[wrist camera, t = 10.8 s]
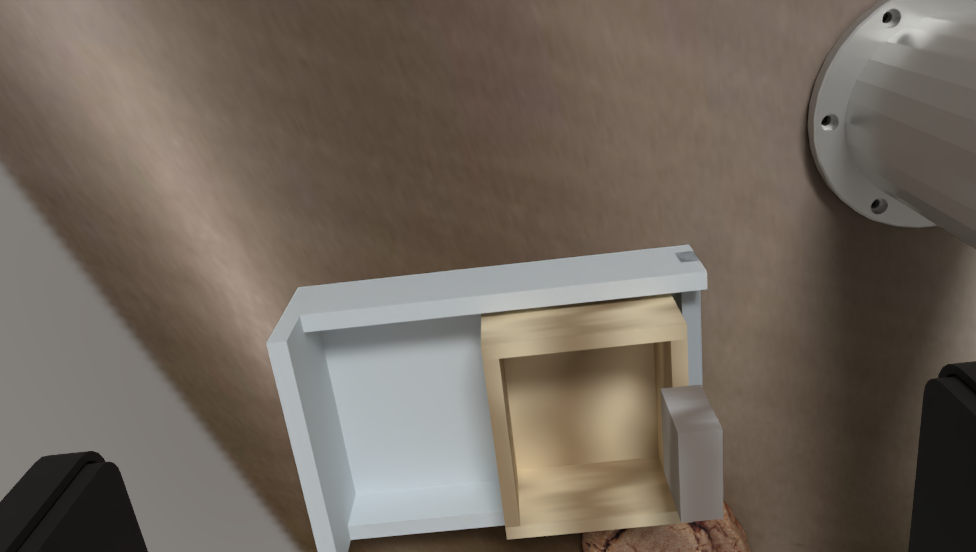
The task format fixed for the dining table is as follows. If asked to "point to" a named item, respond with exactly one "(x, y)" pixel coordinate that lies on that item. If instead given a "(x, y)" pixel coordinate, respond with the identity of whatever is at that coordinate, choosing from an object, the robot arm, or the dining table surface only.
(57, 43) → the dining table surface
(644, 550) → the cookie
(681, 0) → the dining table surface
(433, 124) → the dining table surface
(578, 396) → the drawer
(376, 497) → the bay
